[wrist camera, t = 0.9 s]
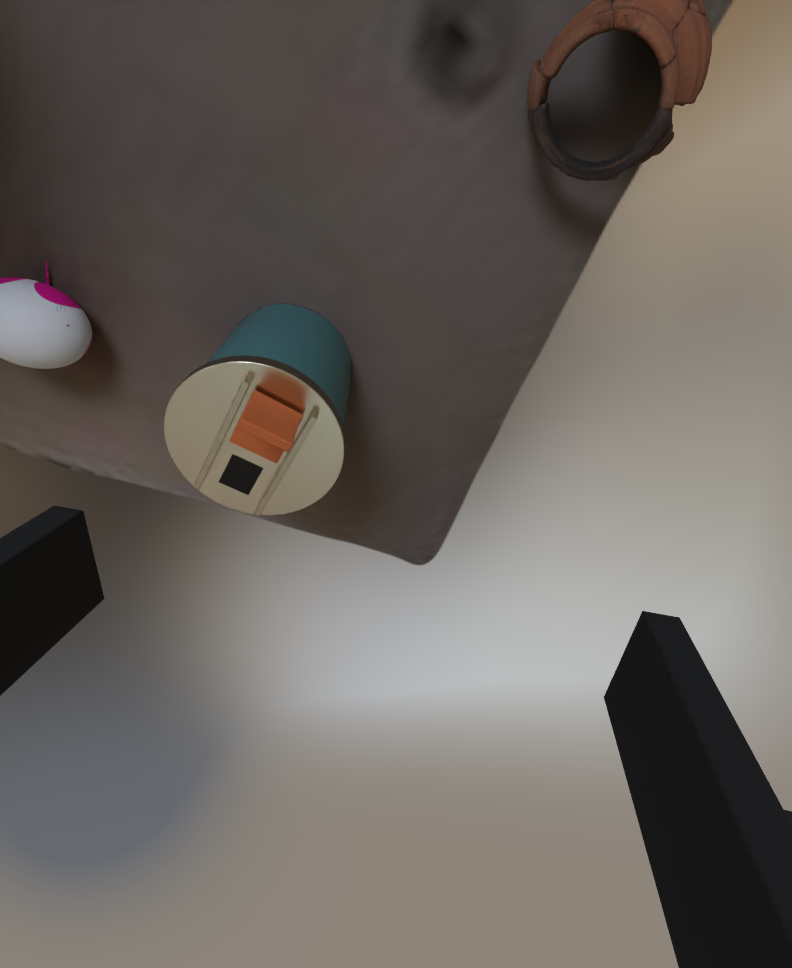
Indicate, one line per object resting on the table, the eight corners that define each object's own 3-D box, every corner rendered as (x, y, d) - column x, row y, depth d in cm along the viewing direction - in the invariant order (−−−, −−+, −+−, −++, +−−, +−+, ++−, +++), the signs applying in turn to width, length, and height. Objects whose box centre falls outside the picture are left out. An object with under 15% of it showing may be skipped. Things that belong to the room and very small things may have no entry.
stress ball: (122, 292, 38) (88, 257, 32) (100, 388, 38) (62, 372, 32) (17, 262, 37) (-41, 219, 30) (-7, 362, 37) (-70, 340, 30)
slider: (254, 389, 26) (238, 417, 23) (304, 414, 27) (294, 445, 24) (230, 437, 27) (213, 470, 25) (277, 460, 28) (266, 493, 26)
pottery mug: (682, 149, 31) (671, 199, 27) (538, 148, 34) (507, 193, 30) (771, -153, 22) (777, -155, 18) (563, -115, 25) (524, -107, 21)
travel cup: (255, 271, 35) (193, 328, 23) (379, 345, 38) (376, 427, 27) (206, 386, 40) (136, 478, 28) (319, 442, 43) (296, 545, 32)
